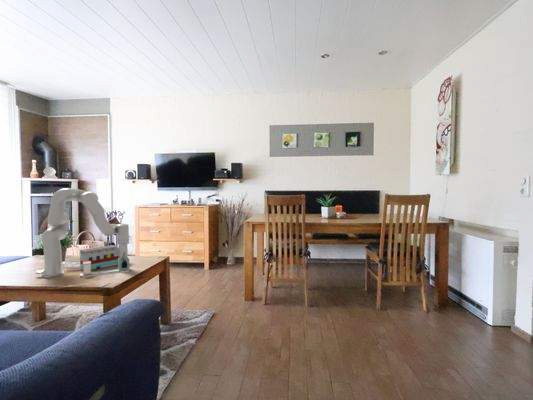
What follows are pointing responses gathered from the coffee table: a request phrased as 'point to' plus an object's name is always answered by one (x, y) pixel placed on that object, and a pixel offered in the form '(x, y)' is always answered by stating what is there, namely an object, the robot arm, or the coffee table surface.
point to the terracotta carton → (87, 268)
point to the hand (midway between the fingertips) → (123, 266)
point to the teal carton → (121, 264)
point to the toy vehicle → (99, 256)
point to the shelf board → (104, 272)
